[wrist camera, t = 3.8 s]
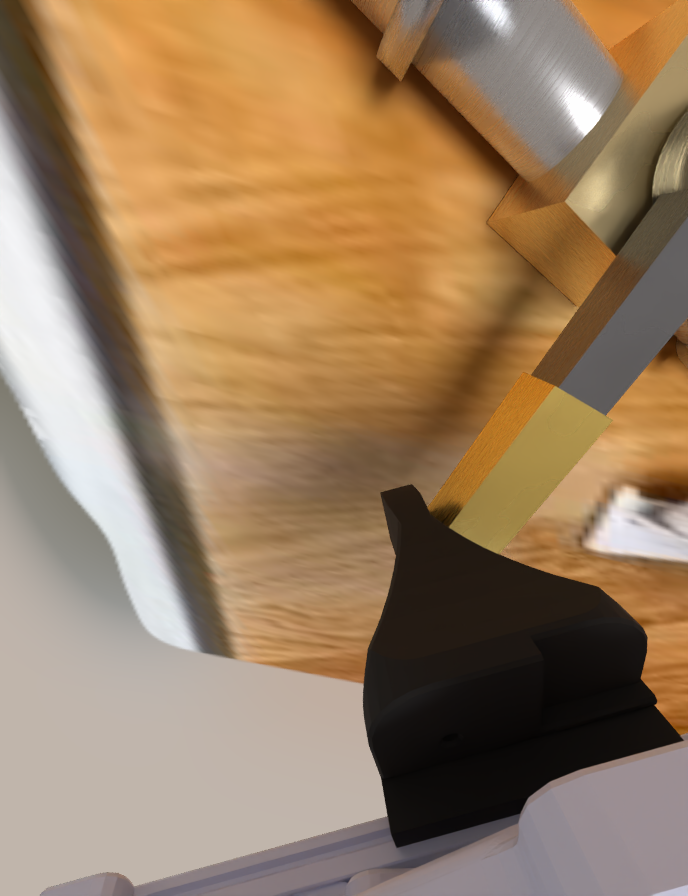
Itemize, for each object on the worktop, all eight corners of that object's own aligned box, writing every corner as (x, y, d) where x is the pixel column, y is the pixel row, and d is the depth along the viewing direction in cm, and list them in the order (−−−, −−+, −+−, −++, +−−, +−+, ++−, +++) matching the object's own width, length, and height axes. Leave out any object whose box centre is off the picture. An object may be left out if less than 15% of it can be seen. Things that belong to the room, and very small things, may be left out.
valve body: (689, 410, 16) (804, 451, 13) (260, 13, 9) (234, -161, 6) (790, 314, 15) (954, 328, 11) (366, -253, 8) (428, -745, 4)
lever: (470, 547, 13) (494, 585, 11) (402, 522, 12) (418, 560, 10) (803, 133, 8) (923, 100, 7) (731, 44, 7) (851, -21, 6)
